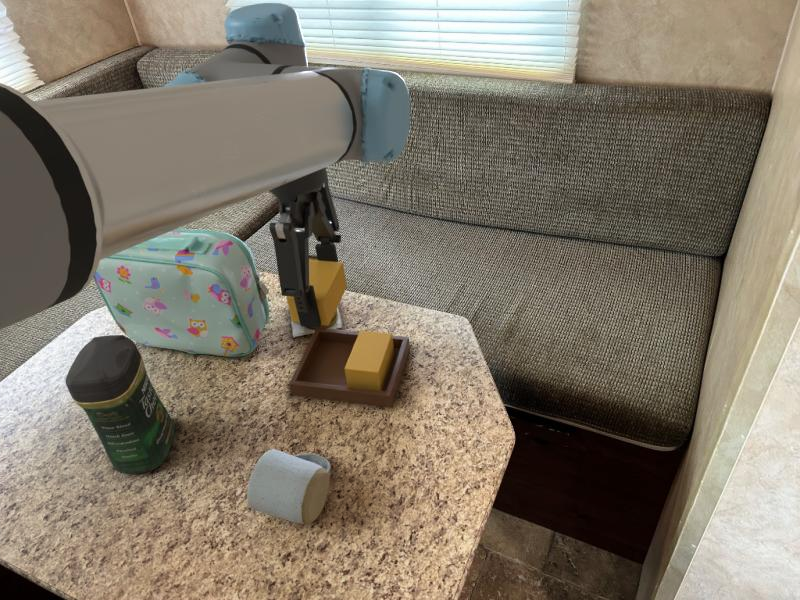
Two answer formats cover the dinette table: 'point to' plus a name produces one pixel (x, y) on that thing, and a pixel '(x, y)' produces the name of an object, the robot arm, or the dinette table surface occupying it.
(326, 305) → the pad loose
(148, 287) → the lunch box
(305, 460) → the ceramic mug
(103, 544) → the dinette table surface
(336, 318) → the condiment
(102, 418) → the coffee jar
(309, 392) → the frame
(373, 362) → the pad seated
